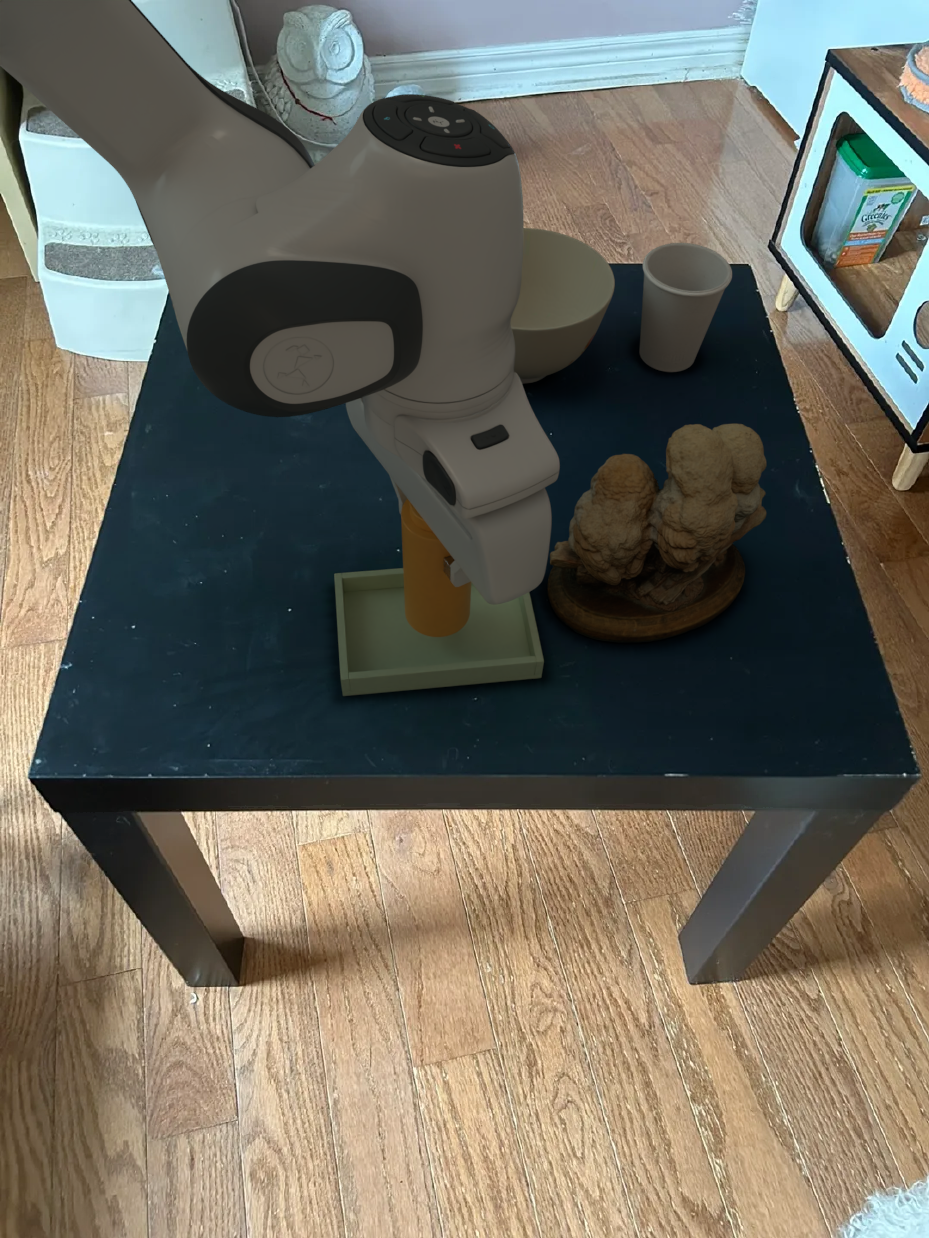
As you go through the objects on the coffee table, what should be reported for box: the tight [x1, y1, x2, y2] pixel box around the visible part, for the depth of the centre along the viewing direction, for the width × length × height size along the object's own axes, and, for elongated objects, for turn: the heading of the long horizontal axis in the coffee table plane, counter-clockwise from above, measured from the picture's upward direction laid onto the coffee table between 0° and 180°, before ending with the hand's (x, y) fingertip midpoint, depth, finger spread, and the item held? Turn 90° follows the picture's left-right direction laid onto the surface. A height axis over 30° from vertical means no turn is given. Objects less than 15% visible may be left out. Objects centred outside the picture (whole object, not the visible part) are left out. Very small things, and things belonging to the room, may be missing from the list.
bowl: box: [511, 227, 616, 385], centre depth 93 cm, size 16×16×10 cm
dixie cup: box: [638, 242, 733, 373], centre depth 94 cm, size 8×8×10 cm
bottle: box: [400, 499, 471, 637], centre depth 68 cm, size 5×5×16 cm
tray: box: [333, 567, 545, 697], centre depth 75 cm, size 15×10×2 cm
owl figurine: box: [546, 423, 768, 644], centre depth 73 cm, size 18×12×17 cm, turn 113°
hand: (437, 547), depth 68 cm, fingers closed on bottle, 5 cm apart
